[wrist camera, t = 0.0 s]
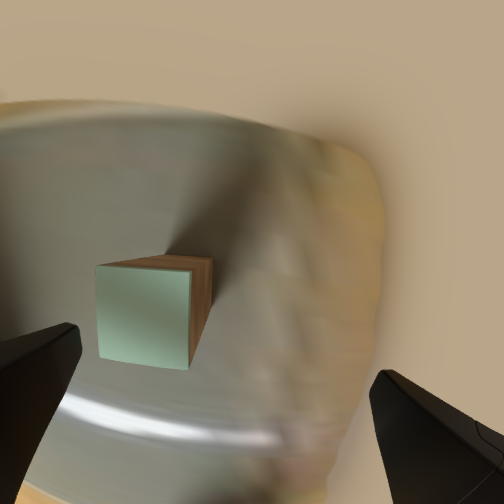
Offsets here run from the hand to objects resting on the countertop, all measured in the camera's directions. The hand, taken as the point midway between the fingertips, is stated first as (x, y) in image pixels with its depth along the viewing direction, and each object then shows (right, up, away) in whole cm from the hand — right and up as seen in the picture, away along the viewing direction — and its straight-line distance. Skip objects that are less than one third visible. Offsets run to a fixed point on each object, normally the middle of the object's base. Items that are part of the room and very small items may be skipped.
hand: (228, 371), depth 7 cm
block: (-4, +1, +15) cm, 16 cm away
